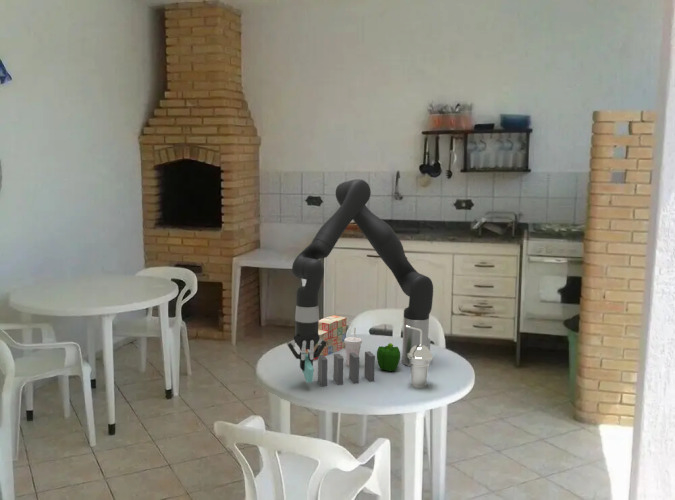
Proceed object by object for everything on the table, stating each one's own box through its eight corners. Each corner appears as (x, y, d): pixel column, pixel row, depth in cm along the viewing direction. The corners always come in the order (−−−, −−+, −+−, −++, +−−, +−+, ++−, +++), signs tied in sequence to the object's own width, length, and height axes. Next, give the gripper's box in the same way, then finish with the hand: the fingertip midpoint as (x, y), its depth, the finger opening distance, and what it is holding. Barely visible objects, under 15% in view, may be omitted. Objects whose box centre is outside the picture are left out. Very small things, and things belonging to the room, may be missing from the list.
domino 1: (312, 382, 206) (305, 366, 214) (313, 369, 204) (307, 353, 212) (306, 382, 206) (300, 366, 214) (308, 369, 204) (301, 354, 212)
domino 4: (353, 377, 218) (354, 352, 217) (358, 383, 214) (359, 357, 212) (348, 378, 218) (349, 352, 217) (353, 383, 213) (354, 357, 212)
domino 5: (369, 376, 220) (369, 351, 219) (374, 381, 215) (375, 355, 214) (364, 377, 219) (364, 351, 218) (369, 382, 215) (369, 356, 213)
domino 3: (338, 379, 217) (339, 353, 215) (343, 384, 212) (343, 358, 211) (333, 379, 216) (333, 354, 215) (337, 384, 212) (338, 358, 210)
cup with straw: (421, 391, 207) (424, 331, 204) (399, 384, 213) (401, 326, 210) (436, 385, 213) (439, 326, 210) (414, 378, 219) (416, 321, 216)
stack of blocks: (313, 361, 235) (314, 328, 233) (300, 357, 239) (300, 325, 237) (346, 347, 253) (346, 317, 251) (333, 344, 256) (333, 314, 254)
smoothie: (359, 368, 228) (360, 330, 225) (341, 367, 229) (342, 329, 227) (362, 363, 234) (363, 326, 232) (345, 361, 235) (346, 324, 233)
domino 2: (322, 380, 215) (323, 354, 214) (327, 385, 210) (327, 359, 209) (317, 381, 215) (318, 355, 213) (321, 386, 210) (322, 360, 209)
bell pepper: (376, 365, 232) (376, 338, 231) (398, 365, 232) (399, 339, 230) (376, 373, 224) (377, 345, 222) (400, 373, 224) (401, 346, 222)
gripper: (324, 314, 213) (323, 364, 216) (283, 316, 209) (283, 368, 212) (330, 320, 206) (329, 372, 209) (289, 322, 202) (288, 375, 205)
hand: (306, 369), depth 210 cm, fingers closed on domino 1, 1 cm apart
